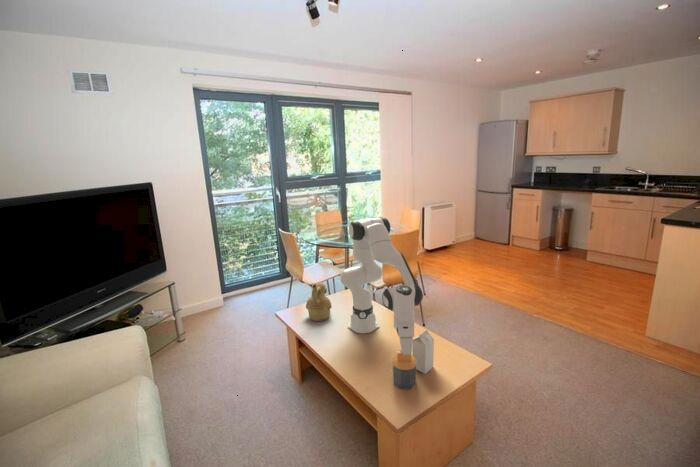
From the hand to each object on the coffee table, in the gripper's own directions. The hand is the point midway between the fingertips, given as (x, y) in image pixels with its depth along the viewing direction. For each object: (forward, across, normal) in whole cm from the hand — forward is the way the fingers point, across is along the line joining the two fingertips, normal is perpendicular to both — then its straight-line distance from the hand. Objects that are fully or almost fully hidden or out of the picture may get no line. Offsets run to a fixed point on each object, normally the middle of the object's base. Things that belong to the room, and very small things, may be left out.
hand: (404, 351), depth 139 cm
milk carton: (+15, -10, +10) cm, 21 cm away
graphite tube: (+15, 0, 0) cm, 15 cm away
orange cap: (+7, 0, 0) cm, 7 cm away
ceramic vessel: (+15, -62, -48) cm, 80 cm away
